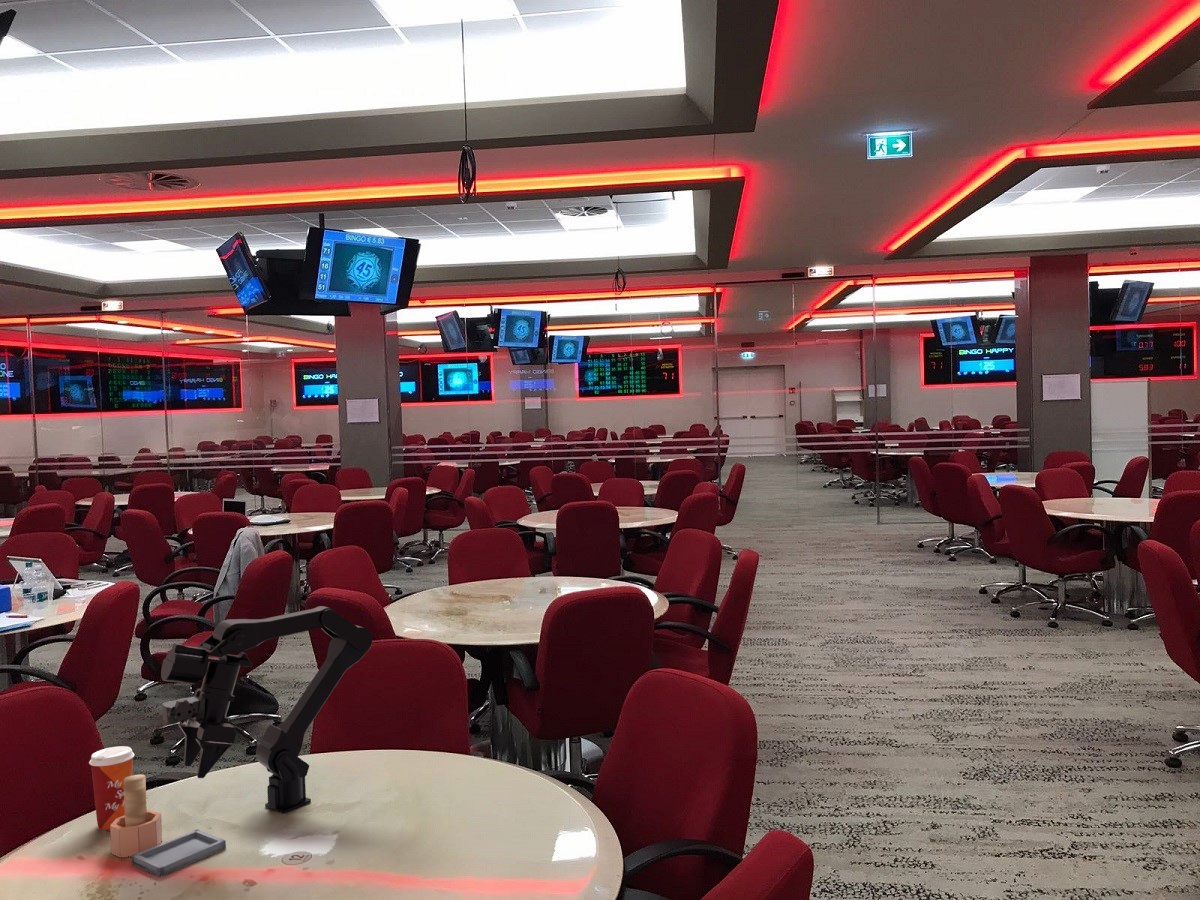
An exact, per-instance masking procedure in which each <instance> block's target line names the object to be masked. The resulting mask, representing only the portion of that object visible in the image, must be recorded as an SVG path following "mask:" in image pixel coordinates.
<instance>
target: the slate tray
mask: <svg viewBox="0 0 1200 900" xmlns="http://www.w3.org/2000/svg"><path fill="white" fill-rule="evenodd" d="M226 845H227V843H226V839H224V838H221V837H219V836H215V835H213V834H211V833H208V832H205V831H203V830H201V829H194V830H192V831H190V832H187V833H184V834H182V835H179V836H177V837H175V838H173V839H170V840H167V841H165V842H161V843H160V844H159V845H157V846H154V847H152V848H149V849H147V850H144V851H142V852H139V853H137V854H135V855H132V856H131V865H133V864H134V865H133V866H135V867H137V866H138V867H137V868H139V867H140V869H141V868H142V869H141V870H143V869H144V870H143V871H145V870H146V872H148V873H151V874H152V875H155V876H156V875H157V877H158V876H159V878H162V877H163V876H167V875H168V873H169V874H171V873H173V872H176V871H177V869H178V870H180V869H182V868H184V866H185V867H187V866H190V865H191V864H190V863H192V864H193V862H194V861H196V862H198V861H197V860H199V861H200V859H201V860H203V859H205V858H208V857H210V856H212V855H215V854H216V852H217V853H220V852H222V851H224V850H227V847H226ZM223 849H224V850H223ZM221 850H222V851H221ZM214 853H215V854H214ZM211 854H212V855H211ZM209 855H210V856H209ZM207 856H208V857H207ZM202 858H203V859H202ZM194 863H195V862H194ZM186 865H187V866H186ZM179 868H180V869H179ZM175 870H176V871H175ZM170 872H171V873H170ZM161 876H162V877H161Z"/></svg>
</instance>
